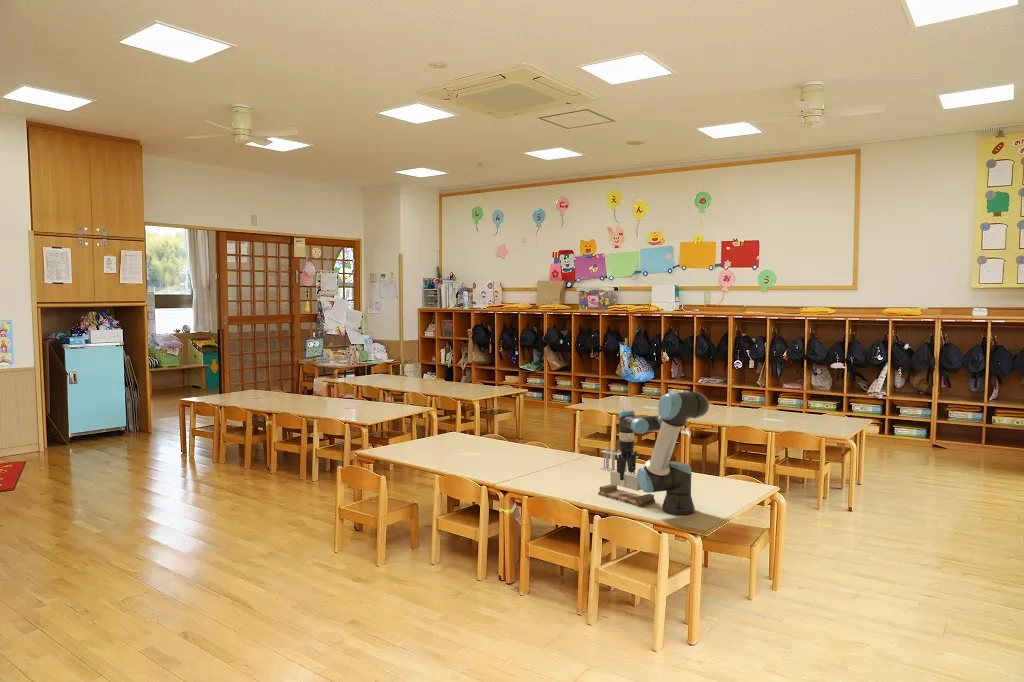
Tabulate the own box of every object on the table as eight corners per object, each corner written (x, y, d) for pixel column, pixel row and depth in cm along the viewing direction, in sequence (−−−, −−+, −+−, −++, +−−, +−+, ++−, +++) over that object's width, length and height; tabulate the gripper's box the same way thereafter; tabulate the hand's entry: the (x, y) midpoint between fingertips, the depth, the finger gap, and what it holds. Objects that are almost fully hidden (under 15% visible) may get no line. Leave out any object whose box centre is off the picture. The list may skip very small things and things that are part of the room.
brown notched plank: (655, 502, 354) (655, 494, 354) (639, 506, 347) (639, 498, 347) (614, 490, 376) (614, 483, 376) (598, 494, 369) (598, 487, 369)
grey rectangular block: (642, 489, 356) (642, 476, 355) (637, 490, 353) (637, 477, 353) (615, 482, 370) (615, 469, 369) (610, 483, 367) (610, 471, 367)
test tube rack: (638, 475, 410) (638, 452, 409) (634, 476, 407) (634, 454, 406) (604, 468, 428) (605, 446, 428) (600, 469, 425) (600, 447, 424)
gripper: (632, 436, 368) (631, 481, 370) (609, 441, 358) (609, 486, 359) (643, 439, 362) (642, 484, 364) (620, 443, 352) (620, 489, 353)
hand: (626, 485), depth 361 cm, fingers closed on grey rectangular block, 4 cm apart
